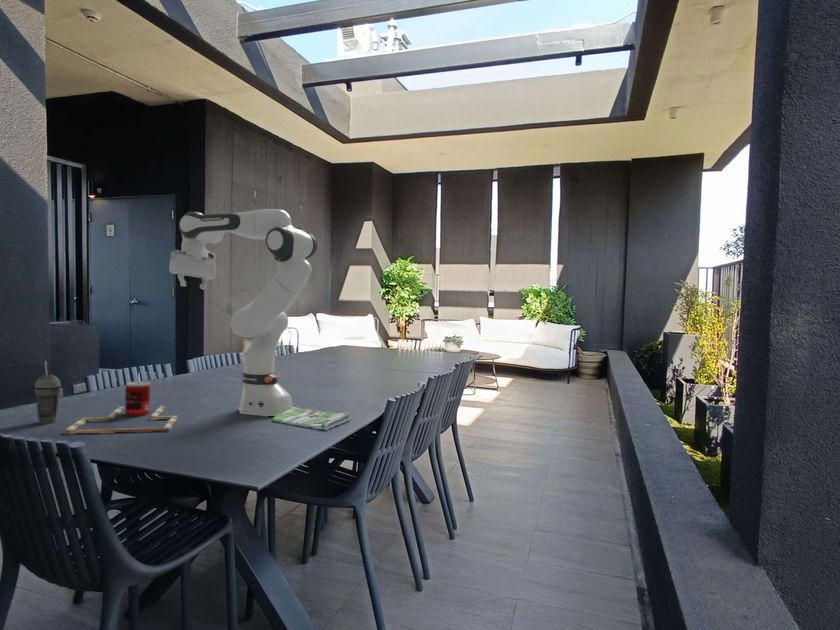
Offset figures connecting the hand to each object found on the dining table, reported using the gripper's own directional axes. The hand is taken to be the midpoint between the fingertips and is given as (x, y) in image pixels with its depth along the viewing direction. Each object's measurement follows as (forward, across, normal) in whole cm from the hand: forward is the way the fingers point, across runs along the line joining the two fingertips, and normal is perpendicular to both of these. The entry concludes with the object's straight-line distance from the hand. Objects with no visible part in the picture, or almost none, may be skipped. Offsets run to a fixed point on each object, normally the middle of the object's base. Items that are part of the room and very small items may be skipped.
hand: (193, 287), depth 209 cm
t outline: (+49, -28, -3) cm, 56 cm away
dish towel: (+53, +6, -53) cm, 75 cm away
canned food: (+48, -21, +3) cm, 52 cm away
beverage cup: (+48, -44, +16) cm, 67 cm away
